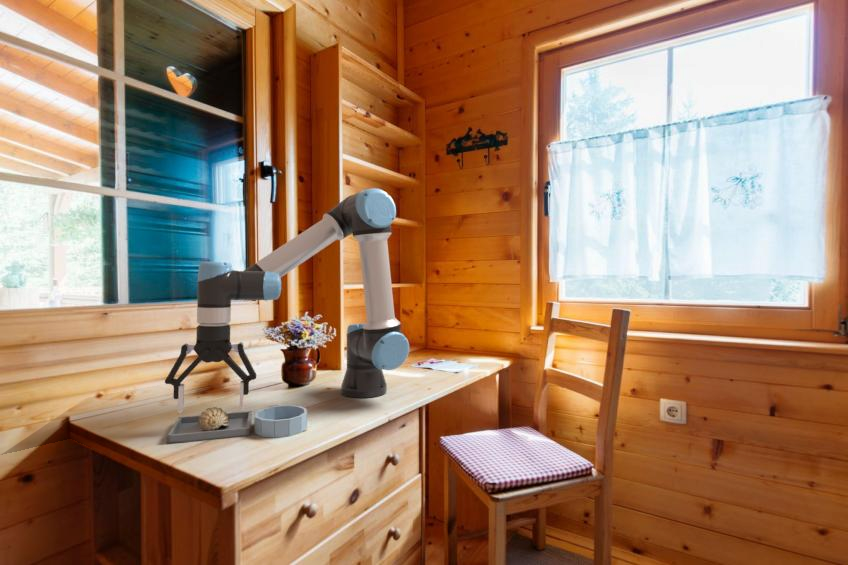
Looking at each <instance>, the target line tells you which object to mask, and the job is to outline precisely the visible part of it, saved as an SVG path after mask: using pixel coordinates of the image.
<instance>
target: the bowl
mask: <svg viewBox="0 0 848 565" xmlns="http://www.w3.org/2000/svg"><path fill="white" fill-rule="evenodd" d="M307 429H308V410H307V408H306V407H304V406H300V405H292V404H284V405H282V404H281V405H272V406H270V407H265V408H261V409H260V410H258V411H255V413H254V435H255V434H256V435H257V436H260V437H262V438H263V437H264V438H284V437H291V436H294V435H297V434H300V433H303V432H304V431H305V430H307Z"/></svg>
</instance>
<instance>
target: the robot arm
mask: <svg viewBox="0 0 848 565" xmlns="http://www.w3.org/2000/svg"><path fill="white" fill-rule="evenodd" d="M396 208H397V207H396V203H395V201H394V199H393V198H392V196H391V195H390V194H388V192H386V191H384V190H383V189H380V188H376V187H375V188H369V189H363V190H362V191H360V192H357V193H355V194H351V195H349V196H347V197H345V198H344V199H343V200H342V201H341V202H339V203H338V204H337V205H335V206H334V207H333V208H331V209H330V210H329V211H327V212H325V213H323V216H322V219H321V220H319V221H318V222H316V223H315V224H313V225H312V226H309V228H307V229H305V230H304V231H303V232H301V233H300V234H298V235H296V236H295V237H293V238H292V239H290V240H288V241H287V242H286V243H284V244H282V245H281V246H279V247H277V249H275V250H273V251H272V252H270V253H268V254H267V255H265V256H264V257H262V258H261V259H259V260H258V261H256V262H255V263H254V264H252V265H251V266H249V267H247V268H246V269H243V270H235V269H234V270H233V266H232V264H231V263H230V262H223V261H222V262H221V261H203V262H201V263H200V264H199V265H198V270H197V272H198V273H197V275H198V277H197V294H196V295H197V296H196V297H197V302H196V303H197V304H196V305H197V306H196V323H197V324H198V325H197V326H196V337H195V338H196V342H195V344H194V345H193V344H189V343H184V344H183V345H182V346H181V347H180V348H181V349H180V353H179V356H178V357H177V360H176V361H175V363H174V365H173V366H172V368H171V369H170V371H169V373H168V375H167V377H166V378H165V379H164V380H165V381H164V384H166V385H171V386H173V399H174V400H178V401H177V402H178V403H177V405H178V407H177V414H182V413H183V412H184V410H185V383H182V382H183V381H184V380H185V379H186V378H187V377H188V376H189V375H190V374H191V373H192V371H193V370H194V369H195V368H196V367H197V366H199V364H200V363H201V362H204V363H207V364H208V363H211V362H214V363H221V362H224V363H225V364H226V365H228V367H229V368H230V369H231V370H232V371H233V372H234V373H235V374H236V375H237V376H238V378H239V379H241V380H240V384H239V410H243V409H244V402H245V401H244V398H245V396H247V395H249V389H250V388H249V386H250V385H249V384H250V383H249V382H251V381H254V380H256V379H257V373H256V371H255V369H254V367H253V365H252V363H251V361H250V359H249V357H248V356H247V353H246V352H245V349H244V348H245V347H244V342H241V341H240V342H239V343H234V344H232V342H231V325H230V324H229V323H231V315H232V314H231V310H232V301H265V302H267V301H274V300H278V299H279V298H280V296H281V293H282V279H281V278H282V277H283V276H285V275H287V274H288V273H289V272H291V271H292V270H294V269H296V268H297V267H298V266H300V265H301V264H303V263H304V262H306V261H307V260H309V259H311V258H312V257H313V256H315V255H316V254H318V253H319V252H320V251H322V250H324V249H325V248H327V247H328V246H329V245H331V244H332V243H334V242H336V241H342V240H344V239H345V238H347V237H349V236H351V235H352V238H353V239H355V241H357V243H358V248H359V258H360V259H359V260H360V268H361V277H362V286H363V295H364V303H365V304H364V306H365V315H366V322H364V323H352V324H349V325H348V326H347V329H346V330H347V331H346V371H345V372H344V376H343V380H342V383H341V386H340V393H341V395H343V396H345V397H349V398H359V399H365V398H375V397H380V396H383V395H385V394H386V393H387V391H388V387H387V382H386V379H385V375H384V372H383V370H385V371H393V370H396V369H398V368H400V367H401V366H402V365H403V364H404V362H405V361H406V360H407V358H408V356H409V353H410V343H409V340H408V338H407V337H406V336H405V335H404V333H402V327H401V321H399V320H398V319H397V318H396V316H395V306H394V296H393V287H392V286H393V285H392V277H391V265H390V254H389V246H388V239H389V238H390V236H391V235H392V223H393V222H394V220H395V218H396V217H397V209H396ZM232 350H234V352H235V353H238V355H239V358H240V360H241V361H242V363H243V365H244V367H245V369H246V372H248V375H247V373H246V372H245V371H244V370H243V369H242V368H241V367H240V365H238V364H237V363H236V362H235V361H234V360H233V358H232V357H231V355H230V354H229V353H230V352H231V351H232ZM192 351H194V352H195V354H196V355H197V357H196V358H195V359H194V360H193V361H192V362H191V363H190V365H189V366H187V368H186V369H185V370H184V371H183V372H182V373H181V374H179V376H178V377H177V378H175V376H176V375H177V373H178V372H179V369H180V368H181V366H182V364H183V363H184V360H185V359H186V357H187V356H188V355H189V354H191V352H192Z"/></svg>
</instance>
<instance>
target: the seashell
mask: <svg viewBox="0 0 848 565" xmlns="http://www.w3.org/2000/svg"><path fill="white" fill-rule="evenodd" d="M226 413H227V412H226V411H224V410H223V409H222V407H215V406H214V407H209V408H206V409H205V410H204V411H202V412H201V413H200V415H201V416H200V417H199V422H198V424H199V425H200V429H202V430H203V431H215V430H217V429H218V428H219V427H220V426H229V424H228V422H229V420H228V417H229V416H228V415H226Z"/></svg>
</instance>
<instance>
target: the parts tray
mask: <svg viewBox="0 0 848 565" xmlns="http://www.w3.org/2000/svg"><path fill="white" fill-rule="evenodd" d="M252 412H253V410H246V411H236V412H234V411H233V412H226V415H228V416H229V417H228V420H229V422H228V424H229V426H220V427H219V428H218V429H217V430H215V431H203V430H202V429H200V425H199V424H198V422H199V417H200V416H201V414H200V415H198V414H197V415H189V416H178V418H177V420H176V421H175V422H174V424H173V426H172V427H171V428H170V431H169V432H168V433H167V435H166V445H168V444H170V445H172V444H179V443H190V442H201V441H208V440H209V441H210V440H220V439H230V438H239V437H240V438H242V437H248V436H250V435H251V425H252V418H253V417H252V416H253V415H252V414H253V413H252Z"/></svg>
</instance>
